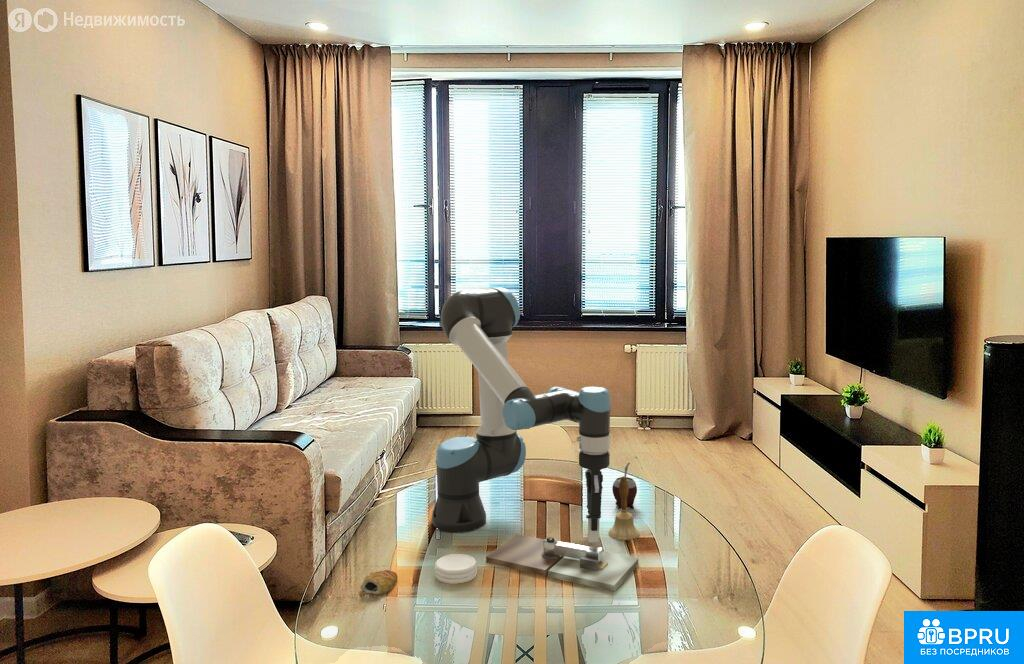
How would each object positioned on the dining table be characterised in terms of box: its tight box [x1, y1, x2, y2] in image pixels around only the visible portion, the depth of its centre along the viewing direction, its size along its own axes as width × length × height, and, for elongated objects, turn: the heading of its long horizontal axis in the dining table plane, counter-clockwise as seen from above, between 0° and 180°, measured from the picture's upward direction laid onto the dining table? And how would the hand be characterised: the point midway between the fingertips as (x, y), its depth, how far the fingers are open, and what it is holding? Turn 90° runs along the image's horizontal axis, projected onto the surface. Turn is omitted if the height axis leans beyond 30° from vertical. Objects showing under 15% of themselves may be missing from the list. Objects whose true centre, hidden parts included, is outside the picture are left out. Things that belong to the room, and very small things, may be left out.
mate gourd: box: [611, 462, 638, 510], centre depth 237 cm, size 8×8×15 cm
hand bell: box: [607, 476, 641, 541], centre depth 217 cm, size 8×8×16 cm
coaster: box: [434, 553, 478, 585], centre depth 196 cm, size 10×10×4 cm
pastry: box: [360, 569, 399, 596], centre depth 191 cm, size 9×7×4 cm
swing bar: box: [543, 537, 604, 562], centre depth 199 cm, size 15×4×4 cm, turn 65°
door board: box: [485, 533, 639, 592], centre depth 201 cm, size 34×16×4 cm, turn 61°
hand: (593, 540), depth 204 cm, fingers closed
